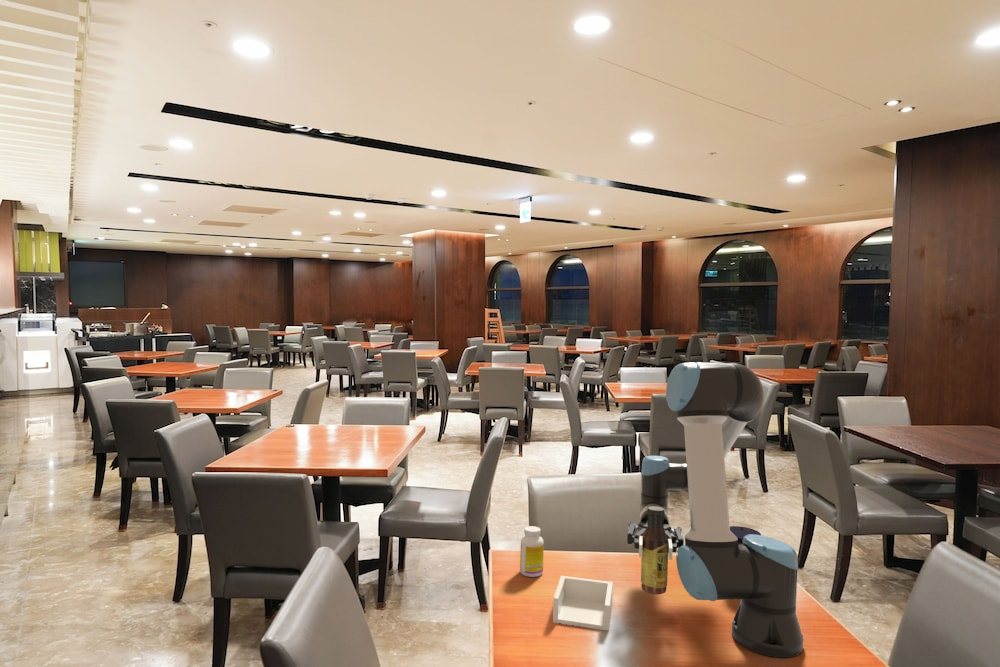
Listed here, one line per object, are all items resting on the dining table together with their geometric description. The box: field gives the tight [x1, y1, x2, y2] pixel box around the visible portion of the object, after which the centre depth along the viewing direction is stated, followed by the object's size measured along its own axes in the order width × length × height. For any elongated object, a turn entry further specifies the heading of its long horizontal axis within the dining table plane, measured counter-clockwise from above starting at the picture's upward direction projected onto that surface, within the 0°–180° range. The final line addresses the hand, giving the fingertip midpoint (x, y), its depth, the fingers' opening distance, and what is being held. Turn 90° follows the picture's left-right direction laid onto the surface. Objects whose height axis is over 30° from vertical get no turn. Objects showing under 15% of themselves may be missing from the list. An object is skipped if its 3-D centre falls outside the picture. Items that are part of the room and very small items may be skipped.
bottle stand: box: [552, 575, 614, 632], centre depth 149 cm, size 13×13×6 cm
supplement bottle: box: [519, 525, 545, 578], centre depth 172 cm, size 7×7×13 cm
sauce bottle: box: [640, 506, 669, 595], centre depth 145 cm, size 7×6×20 cm
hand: (655, 552), depth 140 cm, fingers closed on sauce bottle, 6 cm apart
